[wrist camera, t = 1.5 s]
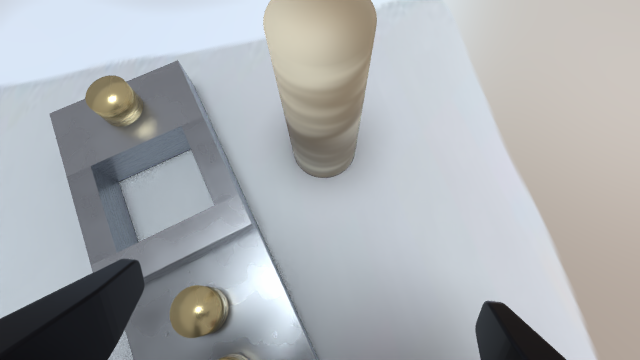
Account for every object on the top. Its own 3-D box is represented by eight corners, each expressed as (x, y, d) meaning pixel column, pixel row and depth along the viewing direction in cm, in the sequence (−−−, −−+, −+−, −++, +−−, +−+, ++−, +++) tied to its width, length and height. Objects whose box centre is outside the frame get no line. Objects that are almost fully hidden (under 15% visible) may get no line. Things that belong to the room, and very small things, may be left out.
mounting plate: (177, 454, 19) (128, 503, 14) (80, 134, 26) (26, 98, 21) (323, 370, 20) (321, 390, 15) (193, 85, 27) (166, 41, 22)
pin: (310, 188, 24) (293, 83, 12) (283, 137, 25) (245, 1, 14) (366, 160, 24) (398, 36, 13) (336, 112, 26) (343, -38, 14)
